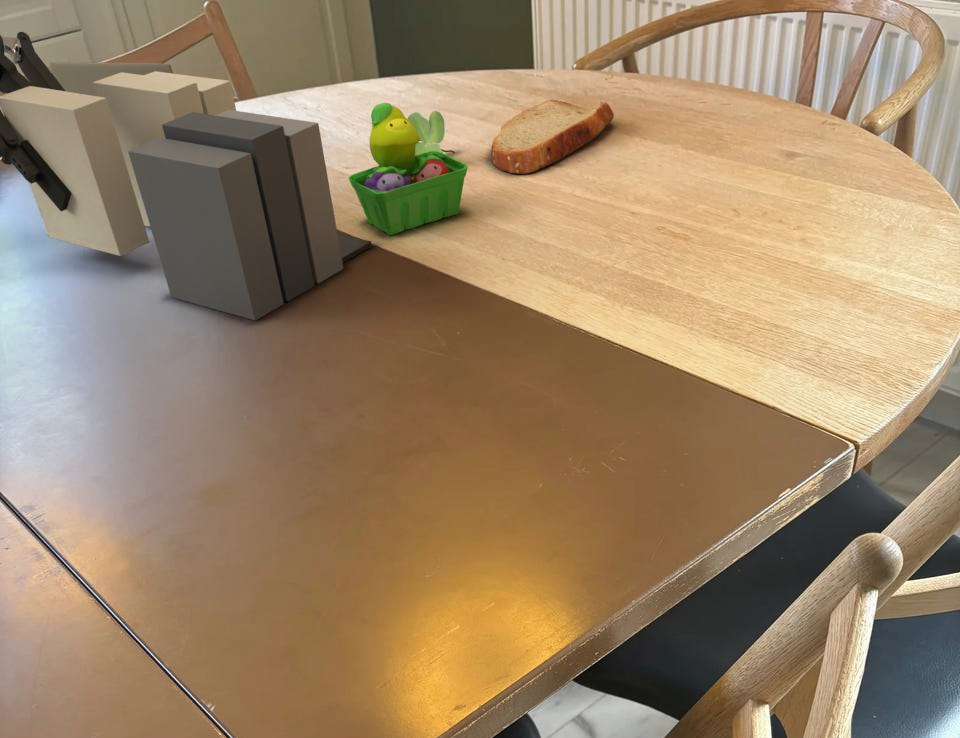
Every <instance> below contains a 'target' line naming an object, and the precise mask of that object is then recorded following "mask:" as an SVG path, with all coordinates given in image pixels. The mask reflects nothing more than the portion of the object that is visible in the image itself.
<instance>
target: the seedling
mask: <svg viewBox="0 0 960 738" xmlns="http://www.w3.org/2000/svg"><path fill="white" fill-rule="evenodd" d="M406 118H407V119H408V120H409V121H410V122H411V123H412V124H413V126H414V127H415V129H416V130H417V132H418V134H419V137H420V141H419V142H418V143H417V144H416V148H415V155H418V154H422V153H426V152H429V151H438V152H441V153H443V154H444V153H452V154H455V153H456V152H455V151H454V150H451V149H448V150H445V149H443V148H442V146H440V143H442V142H443V140H444V138H445V132H446V131H445V130H446V129H445V126H446V124H445V119H444V117H443V115H442V113H441V112H440V111H437V110H433V111H431V113H430V114H429V117H428V119H427V118H425V117H424V116H423V115H422V114H421V113H419V112H417V111H415V112H412V113H411V114H409V115H408V117H406Z"/></svg>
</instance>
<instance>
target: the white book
mask: <svg viewBox="0 0 960 738" xmlns="http://www.w3.org/2000/svg"><path fill="white" fill-rule="evenodd" d="M0 108H1V112H2V113H3V115H4V117H5V118H6V120H7V122H8V124H9V125H10V127H11V129H12V130H13V132H14V134H15V135H16V137H17V139H18V144H19V145H20V144H21V142H22V141H25V140H28V141H29V143H30V144H31V145H32V146H33V147H34V149H35V150H36V151H37V152H38V153H39V155H40V156H41V157H42V158H43V159H44V161H45V162H46V163H47V164H48V165H49V166H50V168H51V169H52V170H53V171H54V172H55V174H56V175H57V176H58V177H59V178H60V180H61V181H62V182H63V183H64V184H65V186H66V187H67V188H68V189H69V190H70V192H71V193H72V194H71V197H70V200H69V203H68V207H67V209H66V210H64V211H62V212H61V211H60V210H59V209H58V208H57V206H56V205H55V204H54V203H53V202H52V201H51V199H50V198H49V197H48V196H47V195H46V193H45V192H44V191H43V190H42V189H41V187H40V186H39V185H38V184H37V183H36V182H35V183H32V184H31V183H30V182H28V184H29V187H30V191H31V192H32V195H33V197H34V201H35V203H36V205H37V210H38V212H39V214H40V216H41V220H42V222H43V225H44V227H45V231H46V233H47V236H48V238H50V239H54V240H58V241H62V242H66V243H70V244H73V245H76V246H79V247H80V246H81V247H84V248H88V249H91V250H96V251H99V252H104V253H107V254H111V255H113V256H118V257H122V256H124V255H126V254H129V253H130V252H132V251H134V250H136V249H138V248H140V247H142V246H144V245H147V244H148V243H150V239H149V236H148V232H147V229H146V226H145V225H144V222H143V219H142V216H141V212H140V209H139V206H138V202H137V199H136V196H135V192H134V189H133V186H132V183H131V179H130V176H129V173H128V169H127V166H126V163H125V159H124V156H123V153H122V149H121V146H120V143H119V139H118V136H117V133H116V129H115V126H114V123H113V120H112V116H111V113H110V110H109V106H108V103H107V100H106V98H104V97H97V96H91V95H85V94H78V93H72V92H65V91H59V90H53V89H46V88H40V87H33V86H29V87H26V88H23V89H20V90H17V91H14V92H11V93H8V94H7V93H4V94H2V95H0Z"/></svg>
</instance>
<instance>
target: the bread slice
mask: <svg viewBox="0 0 960 738" xmlns="http://www.w3.org/2000/svg"><path fill="white" fill-rule="evenodd" d="M599 103H600V104H599V106H597V107H594V108H586V107H582V106H578V105H574V104H572V103H569V102H565V101H562V100H557V99H547V100H546V101H543V102H542V103H539V104H537V105H535V106H532V107H530V108H528V109H526V110H522V111H521V112H520V113H518V114H516V115H514V117H512V118H511V119H508V120H507V121H506V122H505V123H503V125H502V126H501V127H500V132H499V133H498V134H497V135H496V136H495V137H494V138H493V140H492V144H491V149H490V159H491V162H492V164H493V165H494V166H495V167H497V168H498V169H499V170H501V171H503V172H507V173H509V174H517V175H525V174H531V173H534V172H537V171H539V170H540V169H543V168H546V167H547V166H550V165H554V164H555V163H556V162H558V161H561V160H563V159H564V158H565V156H566V157H567V156H569V155H571V154H572V153H573V152H575V151H578V150H579V149H581V148H582V147H583V146H585V145H587V144H588V143H589V142H590V141H592V140H594V139H596V138H597V137H598V136H599V135H600V134H601V133H602V131H604V129H605V128H606V127H607V125H609V124H610V123H611V121H613V119H614V117H615V113H614V111H613V109H612V107H611V106H610V105H609V103H607V102H606V101H604V102H603V101H599Z"/></svg>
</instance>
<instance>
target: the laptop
mask: <svg viewBox="0 0 960 738" xmlns="http://www.w3.org/2000/svg"><path fill="white" fill-rule="evenodd" d="M48 66H49V70H50V72H51V73H52V74H53V75H54V77H55V78H56V79H57V80H58V82H59V83H60V84H61V86H62V87H63V88H64V89H65V91H66V92H72V93H78V94H85V95H91V96H97V94H96V91H95V88H94V85H93V82H95V81H98V80H101V79H104V78H107V77H110V76H112V75H115V74H118V73H121V72H122V73H130V74H137V75H146V74H149V73H152V72H155V71H157V72H164V73H172V74H174V72H173V68H172V65H171V64H170V63H167V62H166V63H165V62H161V63H160V62H102V61H101V62H98V61H97V62H96V61H95V62H93V61H89V62H88V61H49V62H48Z"/></svg>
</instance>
